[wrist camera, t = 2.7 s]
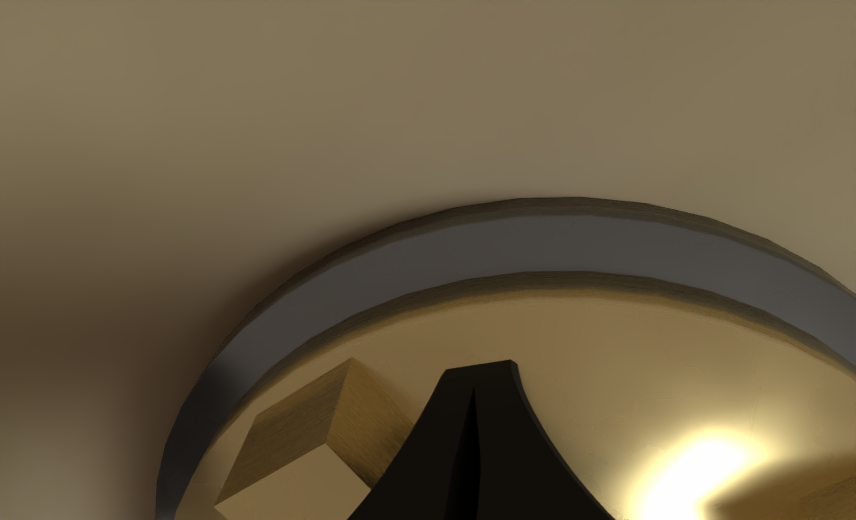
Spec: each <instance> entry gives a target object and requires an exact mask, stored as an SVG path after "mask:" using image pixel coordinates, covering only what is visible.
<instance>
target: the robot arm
mask: <svg viewBox="0 0 856 520" xmlns="http://www.w3.org/2000/svg"><path fill="white" fill-rule="evenodd" d="M347 520H616V519H615V518H614V517H612V516H611V515H610V514H609V513H608V512H607V511H606V509H605V508H604V507H603V506H602V505H601V504H600V503H599V502H598V501H597V499H596V498H595V497H594V496H593V495H592V494H591V493H590V492H589V490H588V489H587V488H586V487H585V486H584V484H583V483H582V482H581V481H580V480H579V478H578V477H577V476H576V475H575V473H574V472H573V471H572V469H571V468H570V467H569V465H568V464H567V463H566V461H565V460H564V459H563V457H562V456H561V454H560V453H559V451H558V450H557V448H556V447H555V446H554V444H553V443H552V441H551V440H550V438H549V436H548V435H547V433H546V432H545V430H544V428H543V426H542V425H541V423H540V421H539V419H538V418H537V416H536V414H535V412H534V410H533V409H532V407H531V405H530V403H529V400H528V398H527V396H526V394H525V391H524V389H523V386H522V382H521V377H520V372H519V368H518V364H517V363H516V362H514V361H512V360H511V359H509V360H503V361H496V362H490V363H483V364H477V365H470V366H464V367H457V368H450V369H446V370H445V371H444V373H443V374H442V375H441V377H440V379H439V381H438V383H437V385H436V387H435V389H434V391H433V393H432V395H431V397H430V399H429V400H428V402H427V404H426V406H425V408H424V410H423V411H422V413H421V415H420V417H419V419H418V420H417V422H416V424H415V425H414V427H413V429H412V430H411V432H410V434H409V435H408V437H407V439H406V440H405V442H404V444H403V445H402V447H401V448H400V450H399V451H398V453H397V454H396V456H395V457H394V459H393V460H392V461H391V463H390V464H389V466H388V467H387V469H386V470H385V472H384V473H383V475H382V476H381V478H380V479H379V480H378V482H377V483H376V484H375V486H374V487H373V488H372V490H371V491H370V492H369V493H368V495H367V496H366V497H365V498H364V500H363V501H362V502H361V503H360V505H359V506H358V507H357V508H356V509H355V511H354V512H353V513H352V514H351V515H350V516H349V518H348V519H347Z"/></svg>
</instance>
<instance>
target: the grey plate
mask: <svg viewBox="0 0 856 520" xmlns="http://www.w3.org/2000/svg"><path fill="white" fill-rule="evenodd" d="M525 271H595V272H605V273H614V274H624V275H634V276H643V277H651V278H656V279H660V280H664V281H669V282H673V283H678V284H682V285H687V286H691V287H696V288H700V289H704V290H709V291H712V292H715V293H717V294H720V295H723V296H726V297H728V298H731V299H734V300H737V301H740V302H742V303H745V304H748V305H751V306H753V307H756V308H759V309H762V310H764V311H767V312H769V313H770V314H772V315H774V316H776V317H778V318H780V319H782V320H784V321H786V322H788V323H790V324H792V325H794V326H795V327H797V328H799V329H801V330H803V331H805V332H807V333H809V334H811V335H813V336H815V337H816V338H818V339H819V340H820V341H822V342H823V343H825V344H826V345H827V346H829V347H830V348H831V349H833V350H834V351H836V352H837V353H838V354H840V355H841V356H843V357H844V358H845V359H847V360H848V361H850V362H851V363H852V364H854V365H855V366H856V294H855V293H853V292H852V291H851V290H849V289H848V288H847V287H845V286H844V285H843V284H841V283H840V282H839V281H837V280H836V279H835V278H833V277H832V276H831V275H829V274H828V273H827V272H825V271H824V270H823V269H821V268H820V267H818V266H816V265H815V264H813V263H811V262H809V261H807V260H805V259H803V258H802V257H800V256H798V255H796V254H794V253H792V252H790V251H789V250H787V249H785V248H783V247H781V246H779V245H777V244H775V243H774V242H772V241H770V240H768V239H765V238H763V237H760V236H757V235H755V234H752V233H749V232H747V231H744V230H741V229H738V228H736V227H733V226H730V225H728V224H725V223H722V222H720V221H717V220H714V219H711V218H708V217H704V216H699V215H695V214H690V213H686V212H682V211H677V210H673V209H668V208H664V207H660V206H655V205H651V204H645V203H635V202H625V201H615V200H605V199H595V198H585V197H577V198H532V199H514V200H507V201H500V202H493V203H486V204H479V205H472V206H465V207H459V208H454V209H450V210H446V211H443V212H439V213H435V214H432V215H428V216H424V217H421V218H417V219H413V220H410V221H406V222H402V223H399V224H396V225H393V226H391V227H389V228H386V229H384V230H381V231H379V232H377V233H374V234H372V235H369V236H367V237H365V238H362V239H360V240H357V241H355V242H353V243H350V244H348V245H345V246H343V247H341V248H340V249H338V250H336V251H335V252H333V253H331V254H329V255H328V256H326V257H324V258H323V259H321V260H319V261H317V262H316V263H314V264H312V265H311V266H309V267H307V268H305V269H304V270H302V271H300V272H299V273H297V274H296V275H294V276H293V277H292V278H290V279H289V280H288V281H287V282H285V283H284V284H283V285H282V286H280V287H279V288H278V289H277V290H275V291H274V292H273V293H272V294H270V295H269V296H268V297H267V298H265V299H264V300H263V301H262V302H260V303H259V304H258V305H257V306H256V307H255V308H254V309H253V310H252V311H251V312H250V313H249V314H248V315H247V316H246V318H245V319H244V320H243V321H242V322H241V323H240V324H239V325H238V326H237V327H236V328H235V329H234V331H233V332H232V333H231V334H230V335H229V336H228V337H227V338H226V339H225V340H224V342H223V343H222V345H221V346H220V348H219V350H218V351H217V353H216V354H215V356H214V357H213V359H212V360H211V362H210V363H209V365H208V366H207V368H206V369H205V371H204V372H203V374H202V375H201V377H200V378H199V380H198V382H197V383H196V385H195V386H194V388H193V389H192V391H191V393H190V394H189V396H188V397H187V399H186V401H185V402H184V404H183V405H182V407H181V410H180V412H179V414H178V417H177V419H176V421H175V424H174V426H173V428H172V431H171V433H170V435H169V438H168V440H167V442H166V445H165V449H164V454H163V458H162V462H161V467H160V471H159V475H158V480H157V491H156V515H155V520H174V518H175V514H176V510H177V508H178V506H179V504H180V502H181V500H182V497H183V495H184V493H185V491H186V489H187V487H188V485H189V483H190V480H191V478H192V476H193V474H194V472H195V470H196V468H197V467H198V465H199V463H200V461H201V459H202V457H203V455H204V453H205V452H206V450H207V448H208V446H209V444H210V442H211V440H212V438H213V437H214V435H215V433H216V431H217V430H218V429H219V427H220V426H221V424H222V423H223V421H224V420H225V419H226V417H227V416H228V414H229V413H230V412H231V410H232V409H233V407H234V406H235V405H236V403H237V402H238V400H239V399H240V398H241V397H242V396H243V395H244V394H245V393H246V392H247V391H248V390H249V389H250V388H251V387H252V386H253V385H254V384H255V383H256V382H257V381H258V380H259V379H260V378H261V377H262V376H263V375H264V374H265V373H266V372H267V371H268V370H269V369H270V368H271V367H272V366H273V365H275V364H276V363H277V362H279V361H280V360H281V359H283V358H284V357H285V356H287V355H288V354H289V353H291V352H292V351H293V350H295V349H296V348H297V347H299V346H300V345H301V344H303V343H304V342H306V341H307V340H308V339H310V338H312V337H313V336H315V335H317V334H319V333H321V332H323V331H324V330H326V329H328V328H330V327H332V326H334V325H335V324H337V323H339V322H341V321H343V320H345V319H346V318H348V317H350V316H352V315H354V314H356V313H358V312H361V311H363V310H366V309H369V308H371V307H374V306H376V305H379V304H382V303H384V302H387V301H389V300H392V299H394V298H397V297H400V296H402V295H405V294H408V293H412V292H416V291H420V290H424V289H428V288H432V287H435V286H439V285H443V284H447V283H451V282H455V281H459V280H463V279H470V278H478V277H486V276H494V275H501V274H509V273H517V272H525Z"/></svg>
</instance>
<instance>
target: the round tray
mask: <svg viewBox="0 0 856 520" xmlns="http://www.w3.org/2000/svg"><path fill="white" fill-rule="evenodd" d="M509 359H511V360H512V361H514V362H516V363H517V364H518V368H519V372H520V377H521V382H522V386H523V389H524V391H525V394H526V396H527V398H528V400H529V403H530V405H531V407H532V409H533V410H534V412H535V414H536V416H537V418H538V419H539V421H540V423H541V425H542V426H543V428H544V430H545V432H546V433H547V435H548V436H549V438H550V440H551V441H552V443H553V444H554V446H555V447H556V448H557V450H558V451H559V453H560V454H561V456H562V457H563V459H564V460H565V461H566V463H567V464H568V465H569V467H570V468H571V469H572V471H573V472H574V473H575V475H576V476H577V477H578V478H579V480H580V481H581V482H582V483H583V484H584V486H585V487H586V488H587V489H588V490H589V492H590V493H591V494H592V495H593V496H594V497H595V498H596V499H597V501H598V502H599V503H600V504H601V505H602V506H603V507H604V508H605V509H606V511H607V512H608V513H609V514H610V515H611V516H612V517H614V518H615V519H616V520H856V366H855V365H854V364H852V363H851V362H850V361H848V360H847V359H845V358H844V357H843V356H841V355H840V354H838V353H837V352H836V351H834V350H833V349H831V348H830V347H829V346H827V345H826V344H825V343H823V342H822V341H820V340H819V339H818V338H816V337H815V336H813V335H811V334H809V333H807V332H805V331H803V330H801V329H799V328H797V327H795V326H794V325H792V324H790V323H788V322H786V321H784V320H782V319H780V318H778V317H776V316H774V315H772V314H770V313H769V312H767V311H764V310H762V309H759V308H756V307H753V306H751V305H748V304H745V303H742V302H740V301H737V300H734V299H731V298H728V297H726V296H723V295H720V294H717V293H715V292H712V291H709V290H704V289H700V288H696V287H691V286H687V285H682V284H678V283H673V282H669V281H664V280H660V279H656V278H651V277H643V276H634V275H624V274H614V273H605V272H595V271H525V272H517V273H509V274H501V275H494V276H486V277H478V278H470V279H463V280H459V281H455V282H451V283H447V284H443V285H439V286H435V287H432V288H428V289H424V290H420V291H416V292H412V293H408V294H405V295H402V296H400V297H397V298H394V299H392V300H389V301H387V302H384V303H382V304H379V305H376V306H374V307H371V308H369V309H366V310H363V311H361V312H358V313H356V314H354V315H352V316H350V317H348V318H346V319H345V320H343V321H341V322H339V323H337V324H335V325H334V326H332V327H330V328H328V329H326V330H324V331H323V332H321V333H319V334H317V335H315V336H313V337H312V338H310V339H308V340H307V341H306V342H304V343H303V344H301V345H300V346H299V347H297V348H296V349H295V350H293V351H292V352H291V353H289V354H288V355H287V356H285V357H284V358H283V359H281V360H280V361H279V362H277V363H276V364H275V365H273V366H272V367H271V368H270V369H269V370H268V371H267V372H266V373H265V374H264V375H263V376H262V377H261V378H260V379H259V380H258V381H257V382H256V383H255V384H254V385H253V386H252V387H251V388H250V389H249V390H248V391H247V392H246V393H245V394H244V395H243V396H242V397H241V398H240V399H239V400H238V402H237V403H236V405H235V406H234V407H233V409H232V410H231V412H230V413H229V414H228V416H227V417H226V419H225V420H224V421H223V423H222V424H221V426H220V427H219V429H218V430H217V431H216V433H215V435H214V437H213V438H212V440H211V442H210V444H209V446H208V448H207V450H206V452H205V453H204V455H203V457H202V459H201V461H200V463H199V465H198V467H197V468H196V470H195V472H194V474H193V476H192V478H191V480H190V483H189V485H188V487H187V489H186V491H185V493H184V495H183V497H182V500H181V502H180V504H179V506H178V508H177V510H176V514H175V518H174V520H347V519H348V518H349V516H350V515H351V514H352V513H353V512H354V511H355V509H356V508H357V507H358V506H359V505H360V503H361V502H362V501H363V500H364V498H365V497H366V496H367V495H368V493H369V492H370V491H371V490H372V488H373V487H374V486H375V484H376V483H377V482H378V480H379V479H380V478H381V476H382V475H383V473H384V472H385V470H386V469H387V467H388V466H389V464H390V463H391V461H392V460H393V459H394V457H395V456H396V454H397V453H398V451H399V450H400V448H401V447H402V445H403V444H404V442H405V440H406V439H407V437H408V435H409V434H410V432H411V430H412V429H413V427H414V425H415V424H416V422H417V420H418V419H419V417H420V415H421V413H422V411H423V410H424V408H425V406H426V404H427V402H428V400H429V399H430V397H431V395H432V393H433V391H434V389H435V387H436V385H437V383H438V381H439V379H440V377H441V375H442V374H443V373H444V371H445V370H446V369H450V368H457V367H464V366H470V365H477V364H483V363H490V362H496V361H503V360H509Z"/></svg>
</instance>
